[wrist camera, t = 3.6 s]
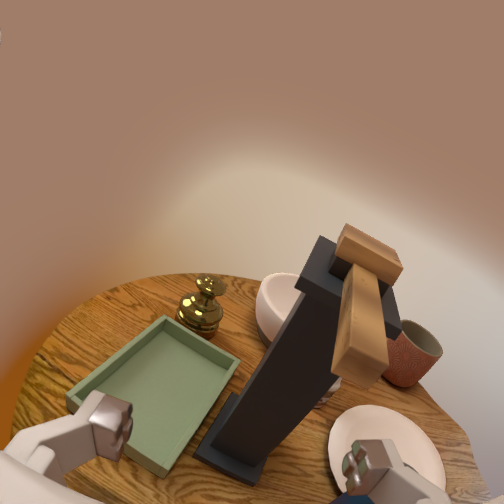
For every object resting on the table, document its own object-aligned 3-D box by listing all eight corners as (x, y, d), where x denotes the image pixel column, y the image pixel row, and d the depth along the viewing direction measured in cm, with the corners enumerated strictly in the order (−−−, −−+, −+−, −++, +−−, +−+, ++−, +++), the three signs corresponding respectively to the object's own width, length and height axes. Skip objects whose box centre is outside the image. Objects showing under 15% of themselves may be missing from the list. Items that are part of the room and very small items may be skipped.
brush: (394, 402, 12) (437, 354, 10) (298, 357, 12) (335, 300, 11) (378, 278, 26) (395, 250, 25) (330, 252, 27) (346, 222, 26)
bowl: (305, 303, 74) (322, 275, 71) (363, 370, 58) (386, 341, 55) (225, 302, 61) (240, 267, 58) (281, 392, 45) (307, 356, 42)
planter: (384, 392, 53) (417, 353, 49) (363, 352, 64) (390, 314, 60) (420, 393, 57) (451, 358, 53) (399, 357, 68) (424, 324, 64)
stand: (191, 456, 30) (300, 275, 20) (229, 396, 41) (320, 234, 31) (252, 487, 28) (403, 330, 19) (278, 422, 39) (387, 271, 30)
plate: (397, 560, 20) (406, 557, 19) (289, 444, 36) (295, 438, 35) (454, 472, 36) (461, 467, 36) (375, 392, 53) (380, 387, 52)
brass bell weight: (216, 319, 55) (236, 274, 52) (213, 346, 49) (235, 299, 45) (177, 306, 54) (194, 259, 50) (169, 332, 47) (186, 282, 44)
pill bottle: (302, 407, 44) (329, 376, 41) (298, 386, 47) (321, 355, 45) (326, 410, 44) (353, 379, 42) (320, 390, 48) (344, 359, 46)
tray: (66, 407, 28) (65, 393, 26) (159, 328, 47) (164, 313, 46) (163, 479, 25) (168, 470, 24) (233, 373, 45) (241, 360, 44)
